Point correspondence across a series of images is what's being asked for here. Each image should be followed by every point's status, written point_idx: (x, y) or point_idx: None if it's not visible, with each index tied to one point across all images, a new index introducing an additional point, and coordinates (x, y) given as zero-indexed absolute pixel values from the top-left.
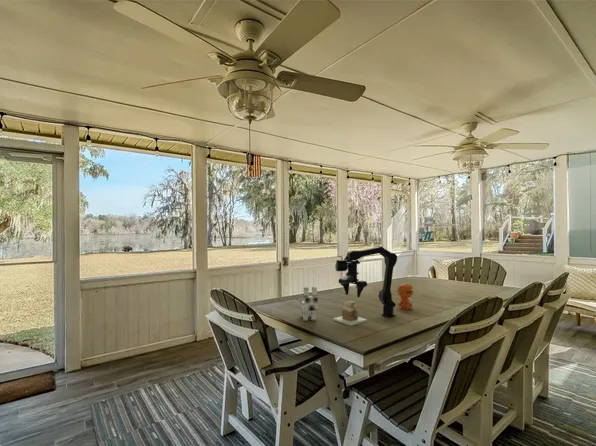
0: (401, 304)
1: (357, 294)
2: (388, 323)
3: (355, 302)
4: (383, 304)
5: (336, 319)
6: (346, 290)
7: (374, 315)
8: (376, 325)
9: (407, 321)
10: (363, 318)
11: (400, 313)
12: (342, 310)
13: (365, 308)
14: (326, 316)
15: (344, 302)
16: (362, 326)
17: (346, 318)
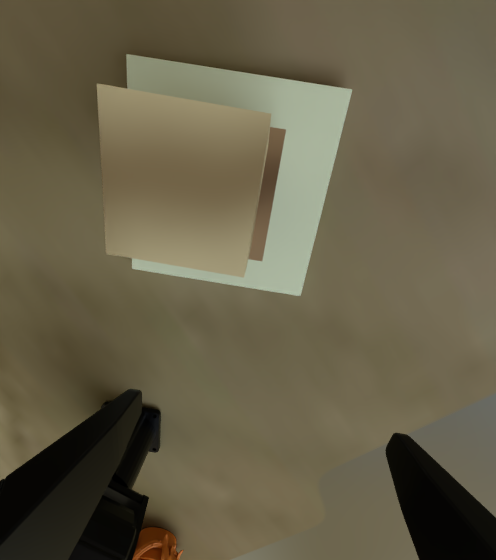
0: (150, 556)
1: (96, 431)
2: (33, 308)
3: (109, 243)
4: (130, 491)
5: (309, 84)
6: (466, 549)
7: (186, 391)
8: (39, 223)
9: (10, 393)
10: (159, 268)
11: None
12: (280, 129)
13: (302, 470)
14: (456, 161)
15: (256, 115)
16: (74, 127)
17: None
